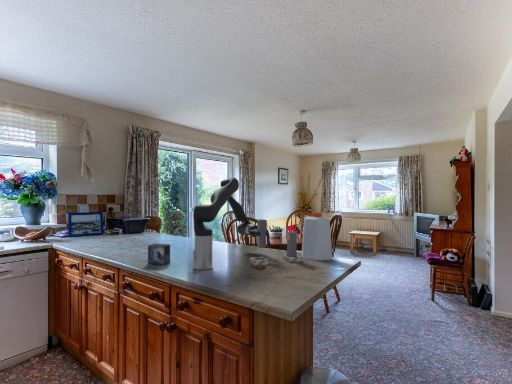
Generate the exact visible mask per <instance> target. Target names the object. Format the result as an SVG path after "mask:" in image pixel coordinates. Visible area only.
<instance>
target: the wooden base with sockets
mask: <svg viewBox="0 0 512 384" xmlns="http://www.w3.org/2000/svg"><path fill="white" fill-rule="evenodd" d="M302 258H303V257H302V255H298V254H297V257H288V256H287V254H282V257H281V258H279V259H268V258H267V257H265V256H254V257H253V256H252V257H249V261H248V262H249V263H248V265H249V266H250V267H252V268H253V269H266V266H269V265H270V266H271V265H279V264H281V265H282V264H288V263H289V264H290V263H299V262H303V260H302Z"/></svg>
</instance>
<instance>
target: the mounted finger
mask: <svg viewBox="0 0 512 384" xmlns="http://www.w3.org/2000/svg"><path fill="white" fill-rule="evenodd" d="M297 233H298V232H296V231H293V230H292V231H287V232H286V239H285V240H286V255H287V256H288V257H297V255H298V254H297V252H298V251H297V250H298V249H297V247H298V244H297V243H298V241H297V238H298V235H297Z"/></svg>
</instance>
